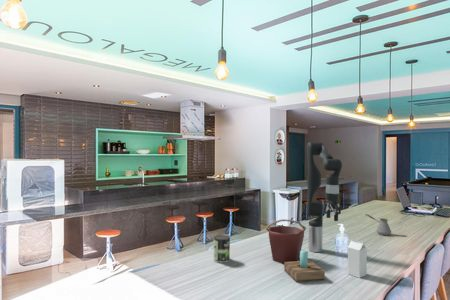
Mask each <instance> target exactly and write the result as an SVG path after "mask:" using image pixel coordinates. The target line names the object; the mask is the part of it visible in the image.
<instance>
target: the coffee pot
mask: <svg viewBox="0 0 450 300" xmlns="http://www.w3.org/2000/svg"><path fill="white" fill-rule="evenodd" d="M365 216H367V217H369V218H370V219H372V220H374V221H376V222H378V226H377V227H376V230H375V232H376V233H377V234H378V235H379V236H386V237H387V236H390V235H391V234H392V230H391V227H390V225H389V223H388V221H389V219H388V218H379V220H378V219H376V218H375V217H373V216H372V215H369V214H367V213H365Z"/></svg>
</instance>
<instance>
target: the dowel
mask: <svg viewBox="0 0 450 300" xmlns="http://www.w3.org/2000/svg"><path fill="white" fill-rule="evenodd" d="M308 256H309V255H308V251H307V250H301V251H300V257H299V261H300V268H308V261H309V260H308V259H309V257H308Z"/></svg>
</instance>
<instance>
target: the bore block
mask: <svg viewBox="0 0 450 300" xmlns="http://www.w3.org/2000/svg"><path fill="white" fill-rule="evenodd" d="M283 265H284V266H283V267H284V272H285V273H286V274H287V275H288V276H289V277H290V278H291V279H292V280H293V281H294V282H295V283H304V282H305V283H306V282H319V281H326V279H325V275H326V274H325V272H326V271H325V269H323V268H321V267H320V266H319V265H317V264H316V263H315V262H313V261H312V260H308V268H300V260H298V261H294V262H285V264H283Z"/></svg>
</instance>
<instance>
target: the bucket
mask: <svg viewBox="0 0 450 300" xmlns="http://www.w3.org/2000/svg"><path fill="white" fill-rule="evenodd" d="M280 222H290V223H295V224H298V225H299V226H300V227H301V228H300V227H296V226H287V225H276V226H275V225H274V224H277V223H280ZM273 225H274V226H273ZM265 228H266V231H267V232H268V238H269V245H270V250H271V256H272V261H274V262H275V263H276V262H277V263H280V264H283V265H284V264H285V262H294V261H300V251H302V249H303V248H302V247H303V242H304V237H305V231H306V229H307V228H306V226H305V225H303V224H302V223H301V222H300V221H298V220H293V219H286V218H285V219H278V220H275V221H272V222H270V223H269V224H268V225H267V226H266V227H265Z"/></svg>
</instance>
